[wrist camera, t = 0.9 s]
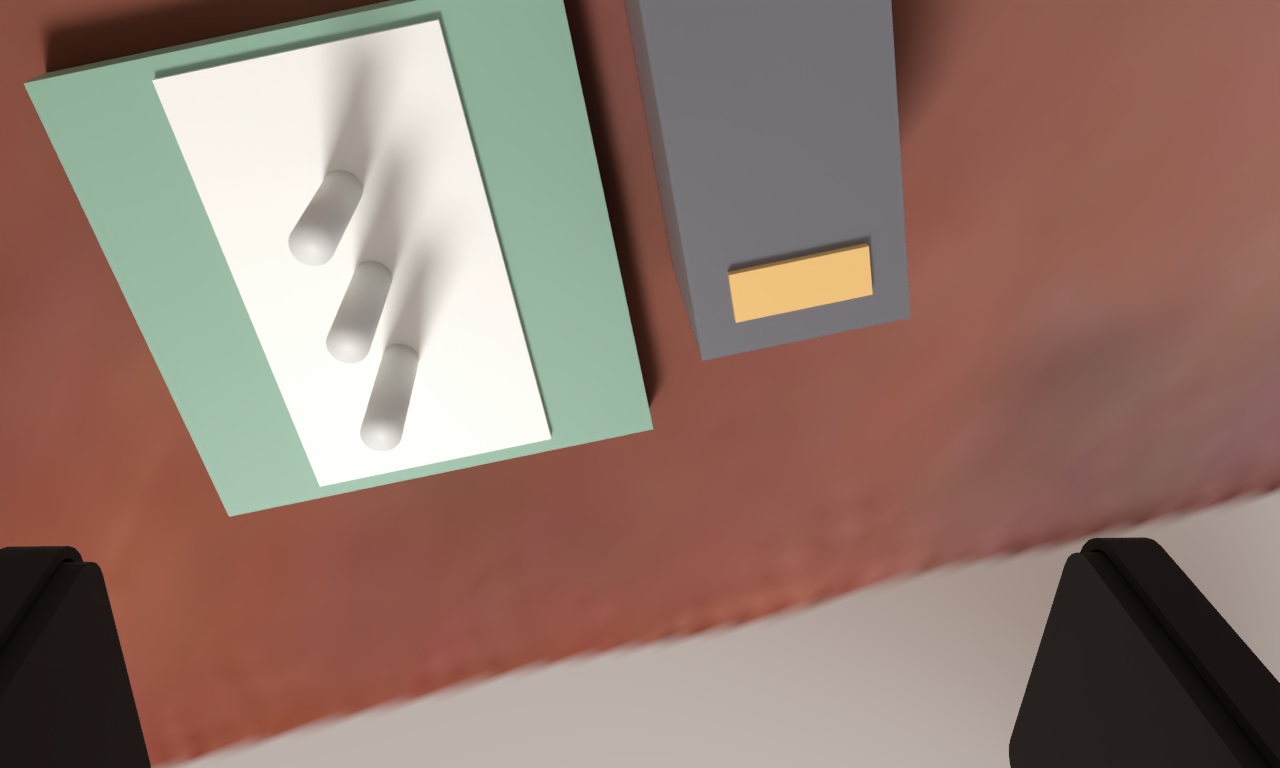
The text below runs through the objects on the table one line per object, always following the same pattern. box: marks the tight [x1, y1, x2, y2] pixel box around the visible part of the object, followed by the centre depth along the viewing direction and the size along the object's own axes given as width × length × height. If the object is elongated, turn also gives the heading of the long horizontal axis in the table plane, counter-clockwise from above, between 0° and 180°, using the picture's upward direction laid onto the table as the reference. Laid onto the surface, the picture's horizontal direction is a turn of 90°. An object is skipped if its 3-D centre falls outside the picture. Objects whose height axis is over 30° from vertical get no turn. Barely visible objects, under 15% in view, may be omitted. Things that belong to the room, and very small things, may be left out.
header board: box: [24, 0, 653, 517], centre depth 26 cm, size 13×13×5 cm
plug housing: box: [624, 0, 910, 361], centre depth 24 cm, size 5×10×6 cm, turn 11°
